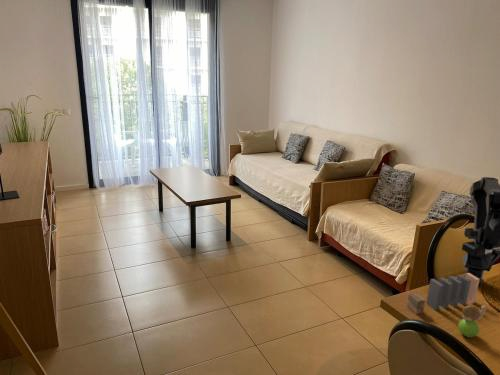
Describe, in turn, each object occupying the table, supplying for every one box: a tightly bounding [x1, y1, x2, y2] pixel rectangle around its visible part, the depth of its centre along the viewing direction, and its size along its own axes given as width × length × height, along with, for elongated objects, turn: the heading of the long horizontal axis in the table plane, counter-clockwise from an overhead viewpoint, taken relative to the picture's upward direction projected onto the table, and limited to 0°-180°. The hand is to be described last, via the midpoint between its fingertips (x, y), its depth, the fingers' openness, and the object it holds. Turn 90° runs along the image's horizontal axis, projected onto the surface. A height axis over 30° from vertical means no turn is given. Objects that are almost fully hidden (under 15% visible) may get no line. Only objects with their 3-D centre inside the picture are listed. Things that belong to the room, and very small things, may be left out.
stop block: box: [406, 292, 426, 315], centre depth 127 cm, size 3×4×5 cm
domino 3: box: [447, 275, 462, 308], centre depth 131 cm, size 1×4×10 cm, turn 16°
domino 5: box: [465, 272, 480, 304], centre depth 133 cm, size 1×4×10 cm, turn 16°
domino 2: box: [438, 277, 453, 309], centre depth 130 cm, size 1×4×10 cm, turn 16°
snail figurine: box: [457, 301, 489, 338], centre depth 114 cm, size 5×6×12 cm
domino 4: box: [456, 273, 471, 306], centre depth 132 cm, size 1×4×10 cm, turn 16°
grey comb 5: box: [425, 278, 444, 311], centre depth 129 cm, size 1×4×10 cm, turn 16°
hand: (485, 268), depth 132 cm, fingers closed
